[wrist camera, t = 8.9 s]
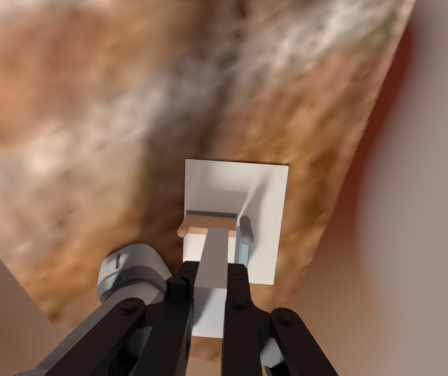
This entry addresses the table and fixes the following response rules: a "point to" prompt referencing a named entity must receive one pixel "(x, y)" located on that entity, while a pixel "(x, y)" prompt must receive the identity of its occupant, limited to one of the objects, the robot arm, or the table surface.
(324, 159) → the table surface
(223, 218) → the fence panel
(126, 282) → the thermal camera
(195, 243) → the card
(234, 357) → the robot arm
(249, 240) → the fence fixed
